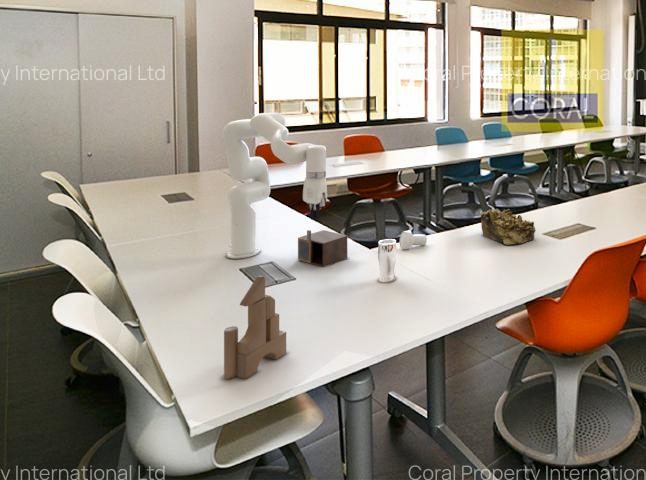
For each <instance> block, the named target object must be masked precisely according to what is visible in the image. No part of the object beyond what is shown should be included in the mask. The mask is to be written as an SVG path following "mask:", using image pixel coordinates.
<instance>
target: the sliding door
mask: <svg viewBox="0 0 646 480" xmlns="http://www.w3.org/2000/svg"><path fill="white" fill-rule="evenodd" d="M311 234H312V230H310V229H307V230H306V235H307V239H304V238H300V237H301V236H299V237H297V260H298V261H301V262H304V263H307V264H311Z"/></svg>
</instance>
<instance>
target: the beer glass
mask: <svg viewBox="0 0 646 480" xmlns="http://www.w3.org/2000/svg"><path fill="white" fill-rule="evenodd" d="M377 259H378V266H379V278H378V281H379V282H380V283H391V282H394V281H396V273H395V267H396V266H395V265H396V261H397V240H396V239H392V238H386V239H381V240H379V241H378V246H377Z"/></svg>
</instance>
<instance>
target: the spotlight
mask: <svg viewBox="0 0 646 480" xmlns="http://www.w3.org/2000/svg"><path fill="white" fill-rule="evenodd" d="M427 241H428V239H427V236H426V234H413V232H412V231H411V230H403V231H402V232H401V233H400V235H399V247H400V249H402V250H410V249H411V248H412V246H426V244H427Z"/></svg>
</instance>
